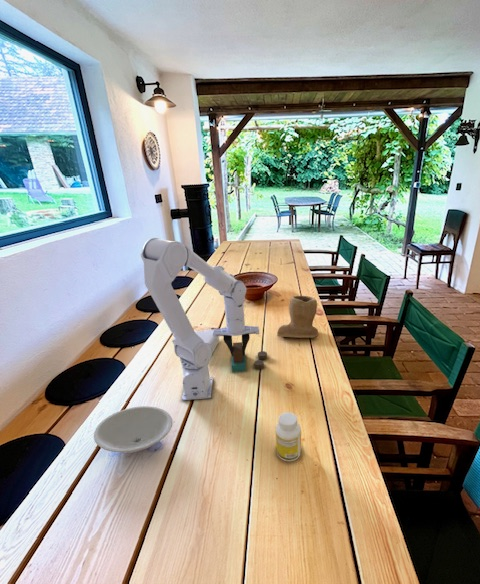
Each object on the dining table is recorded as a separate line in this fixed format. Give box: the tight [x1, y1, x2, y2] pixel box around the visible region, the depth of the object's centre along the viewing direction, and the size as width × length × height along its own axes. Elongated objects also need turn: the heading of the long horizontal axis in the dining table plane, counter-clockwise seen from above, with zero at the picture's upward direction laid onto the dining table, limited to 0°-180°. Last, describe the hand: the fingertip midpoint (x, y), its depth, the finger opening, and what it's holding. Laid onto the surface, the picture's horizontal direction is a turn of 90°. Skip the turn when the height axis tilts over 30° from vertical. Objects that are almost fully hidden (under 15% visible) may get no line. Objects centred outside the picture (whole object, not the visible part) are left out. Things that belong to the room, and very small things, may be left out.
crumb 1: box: [257, 350, 268, 361], centre depth 109 cm, size 3×3×2 cm
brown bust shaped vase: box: [276, 295, 319, 339], centre depth 121 cm, size 15×12×15 cm
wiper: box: [231, 341, 247, 373], centre depth 105 cm, size 10×4×6 cm, turn 5°
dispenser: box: [194, 328, 220, 354], centre depth 118 cm, size 5×9×15 cm
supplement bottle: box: [275, 411, 302, 462], centre depth 70 cm, size 5×5×10 cm
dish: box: [93, 405, 173, 454], centre depth 75 cm, size 18×14×5 cm
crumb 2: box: [253, 359, 265, 370], centre depth 104 cm, size 3×3×2 cm
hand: (238, 354), depth 105 cm, fingers closed on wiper, 3 cm apart
